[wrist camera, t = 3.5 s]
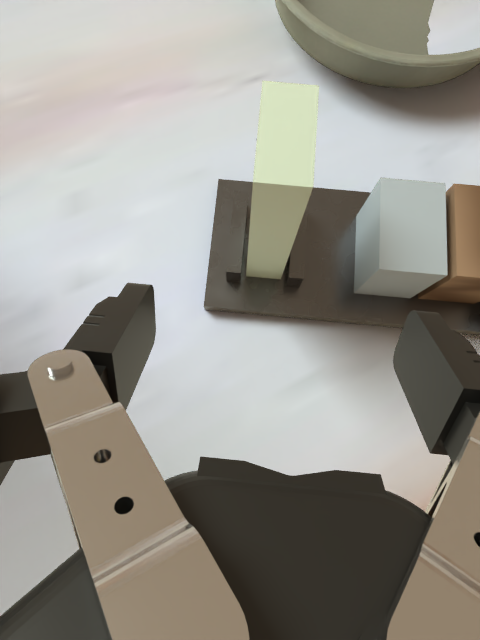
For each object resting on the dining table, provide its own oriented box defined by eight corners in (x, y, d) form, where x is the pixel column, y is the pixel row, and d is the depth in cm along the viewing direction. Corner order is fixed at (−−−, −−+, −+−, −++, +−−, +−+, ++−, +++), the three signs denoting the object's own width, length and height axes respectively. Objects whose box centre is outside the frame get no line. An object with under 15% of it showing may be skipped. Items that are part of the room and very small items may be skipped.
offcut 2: (417, 298, 28) (456, 275, 23) (417, 221, 29) (454, 183, 24) (474, 303, 28) (525, 281, 23) (471, 225, 29) (519, 189, 24)
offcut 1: (353, 293, 28) (379, 269, 23) (356, 216, 29) (380, 177, 24) (410, 298, 28) (447, 275, 23) (410, 220, 29) (445, 183, 24)
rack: (205, 309, 28) (200, 294, 24) (219, 186, 30) (216, 154, 27) (493, 336, 28) (535, 325, 24) (487, 210, 30) (525, 181, 26)
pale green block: (245, 276, 28) (253, 182, 16) (251, 212, 29) (262, 80, 17) (280, 279, 28) (313, 187, 16) (285, 215, 29) (319, 85, 17)
